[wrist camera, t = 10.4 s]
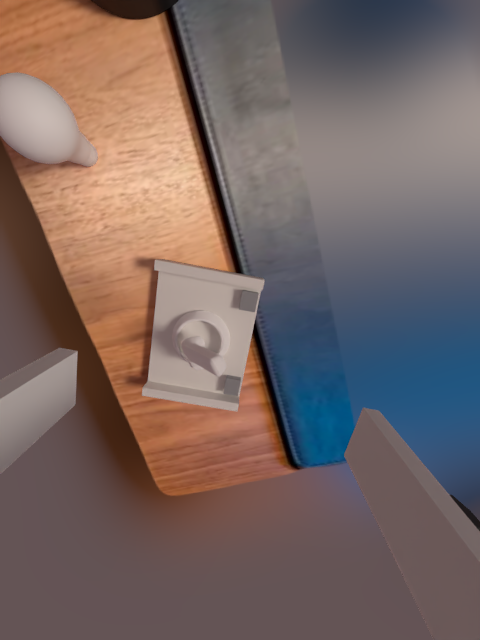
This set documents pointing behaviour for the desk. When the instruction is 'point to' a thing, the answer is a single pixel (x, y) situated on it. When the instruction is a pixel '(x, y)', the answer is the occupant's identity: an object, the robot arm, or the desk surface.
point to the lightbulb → (41, 123)
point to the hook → (202, 343)
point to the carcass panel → (201, 332)
